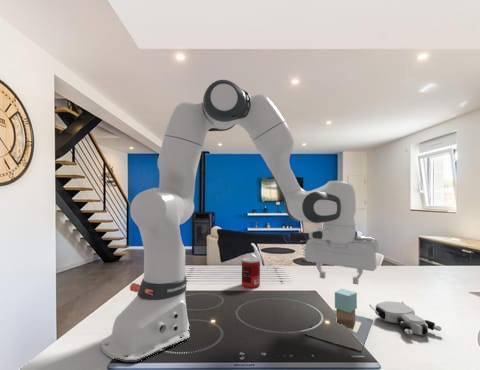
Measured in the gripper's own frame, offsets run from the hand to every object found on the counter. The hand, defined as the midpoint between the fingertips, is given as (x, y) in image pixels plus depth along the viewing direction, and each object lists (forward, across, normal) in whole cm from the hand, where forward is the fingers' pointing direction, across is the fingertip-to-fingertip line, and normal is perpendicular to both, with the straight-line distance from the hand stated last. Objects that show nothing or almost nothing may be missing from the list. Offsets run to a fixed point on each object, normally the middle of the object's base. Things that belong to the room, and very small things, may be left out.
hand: (338, 280), depth 79 cm
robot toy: (+12, -17, -7) cm, 22 cm away
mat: (+12, -1, +3) cm, 13 cm away
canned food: (+13, +37, -16) cm, 43 cm away
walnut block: (+12, -2, +1) cm, 12 cm away
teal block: (+7, -2, +1) cm, 8 cm away
